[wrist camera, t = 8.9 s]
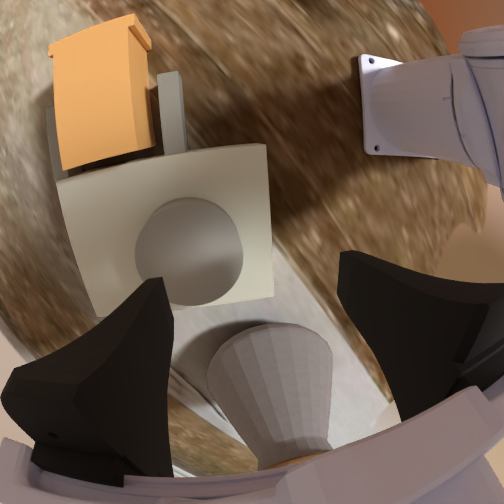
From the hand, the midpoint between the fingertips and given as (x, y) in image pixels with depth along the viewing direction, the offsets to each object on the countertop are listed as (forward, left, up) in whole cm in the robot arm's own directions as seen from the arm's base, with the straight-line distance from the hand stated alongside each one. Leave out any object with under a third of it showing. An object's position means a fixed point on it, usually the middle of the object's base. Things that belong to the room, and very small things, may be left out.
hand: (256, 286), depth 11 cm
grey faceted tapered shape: (-4, +18, -10) cm, 21 cm away
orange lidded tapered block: (+7, -9, -10) cm, 15 cm away
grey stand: (+5, -2, -9) cm, 11 cm away
